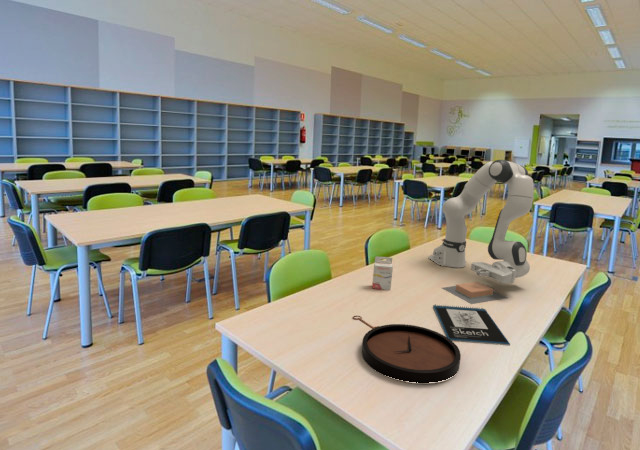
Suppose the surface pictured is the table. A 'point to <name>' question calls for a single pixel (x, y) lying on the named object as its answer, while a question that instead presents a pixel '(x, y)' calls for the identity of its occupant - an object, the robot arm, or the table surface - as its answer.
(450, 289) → the mat
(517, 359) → the table surface
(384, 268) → the ink cartridge box
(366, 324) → the key
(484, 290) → the tile
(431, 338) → the wall clock
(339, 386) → the table surface
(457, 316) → the sketchbook
